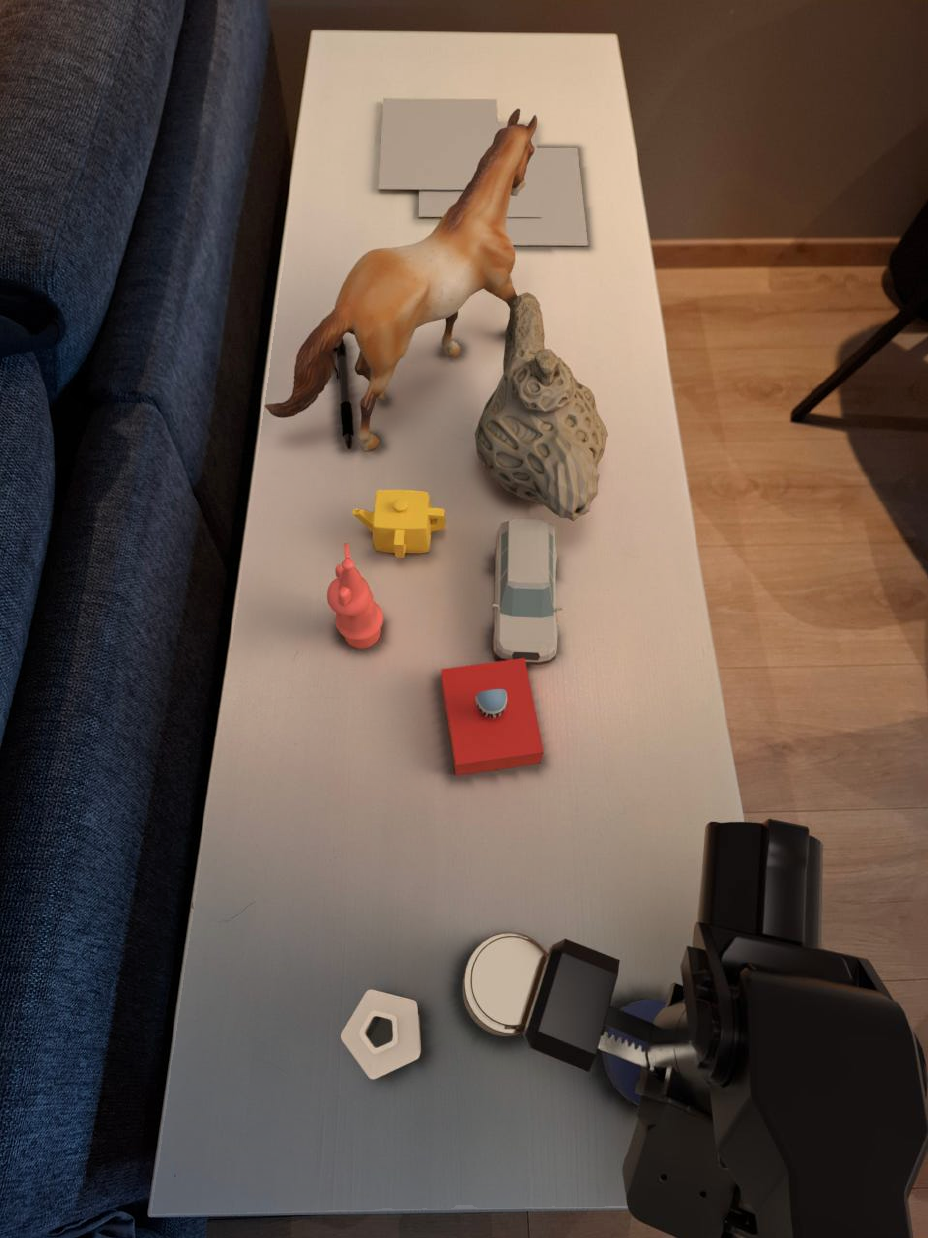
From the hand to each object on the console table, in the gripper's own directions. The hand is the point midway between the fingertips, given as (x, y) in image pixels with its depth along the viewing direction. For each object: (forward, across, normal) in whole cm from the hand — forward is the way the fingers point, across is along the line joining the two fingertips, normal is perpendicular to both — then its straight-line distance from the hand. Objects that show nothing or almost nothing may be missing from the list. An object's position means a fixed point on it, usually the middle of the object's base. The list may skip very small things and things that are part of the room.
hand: (662, 1052), depth 56 cm
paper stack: (+4, -43, +82) cm, 93 cm away
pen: (+4, -44, +46) cm, 63 cm away
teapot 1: (+4, -32, +32) cm, 45 cm away
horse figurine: (+4, -39, +51) cm, 64 cm away
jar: (+4, -11, 0) cm, 11 cm away
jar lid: (+2, 0, 0) cm, 2 cm away
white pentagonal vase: (+4, -17, -6) cm, 18 cm away
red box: (+4, -19, +19) cm, 27 cm away
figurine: (+4, -32, +22) cm, 39 cm away
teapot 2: (+4, -24, +44) cm, 50 cm away
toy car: (+4, -20, +30) cm, 36 cm away
